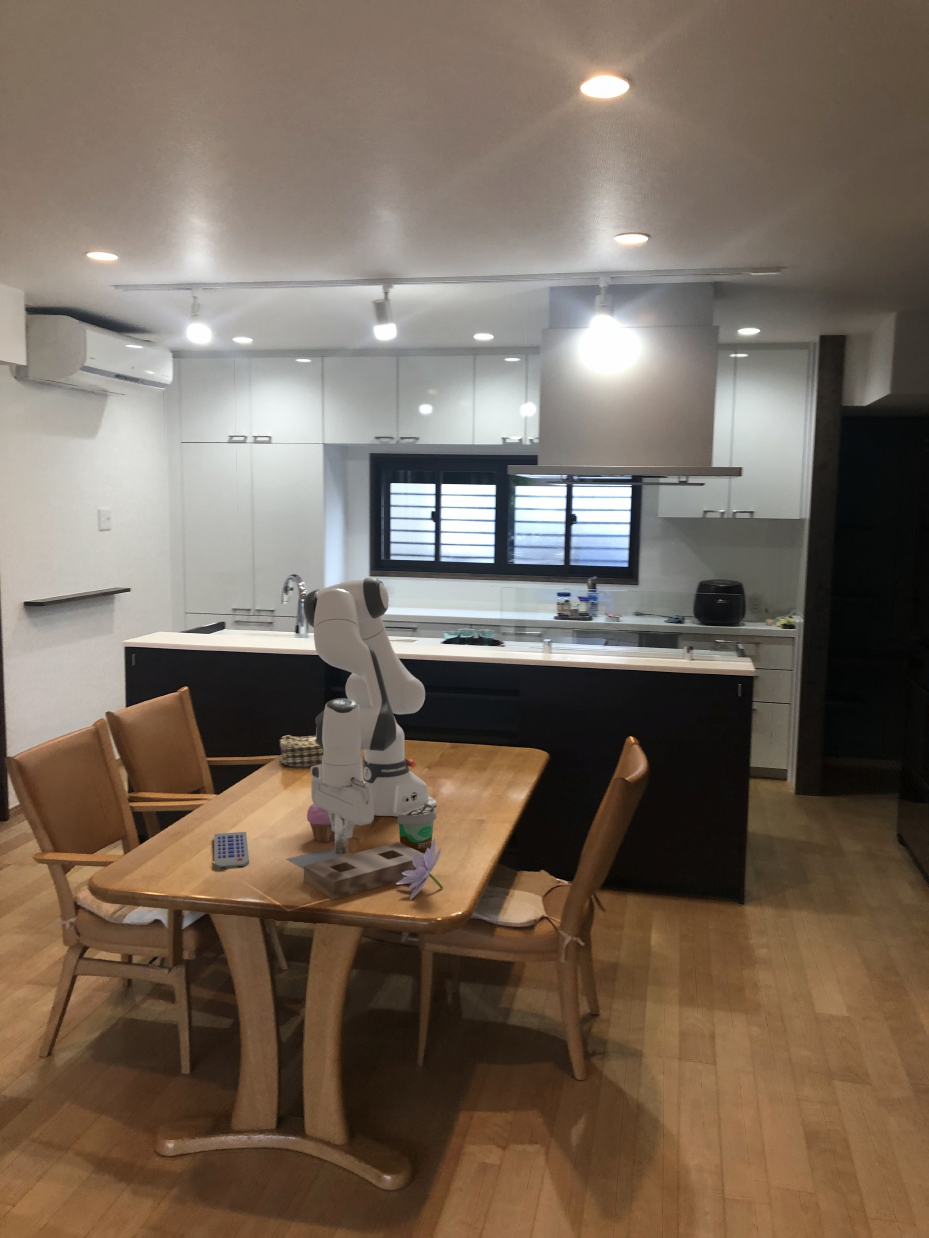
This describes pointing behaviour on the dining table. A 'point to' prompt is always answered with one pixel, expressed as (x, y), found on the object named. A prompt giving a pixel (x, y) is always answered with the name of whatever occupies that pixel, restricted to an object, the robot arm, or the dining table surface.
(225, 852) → the remote control
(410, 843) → the food container
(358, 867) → the hole block
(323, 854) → the mat
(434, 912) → the dining table surface
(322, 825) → the cupcake
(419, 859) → the water lily
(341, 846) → the peg
